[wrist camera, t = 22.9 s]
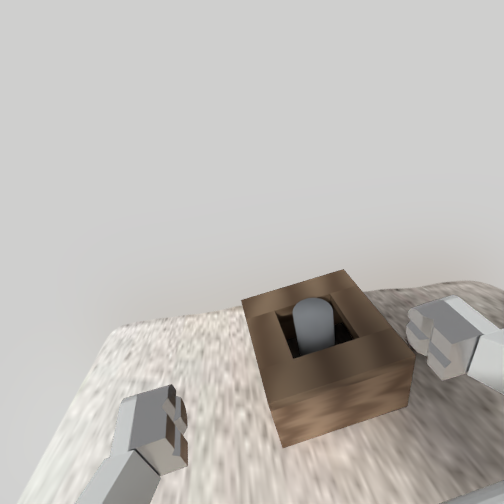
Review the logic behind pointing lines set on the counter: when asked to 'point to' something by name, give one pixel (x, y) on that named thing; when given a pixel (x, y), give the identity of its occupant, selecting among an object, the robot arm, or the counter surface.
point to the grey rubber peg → (313, 325)
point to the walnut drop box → (327, 360)
